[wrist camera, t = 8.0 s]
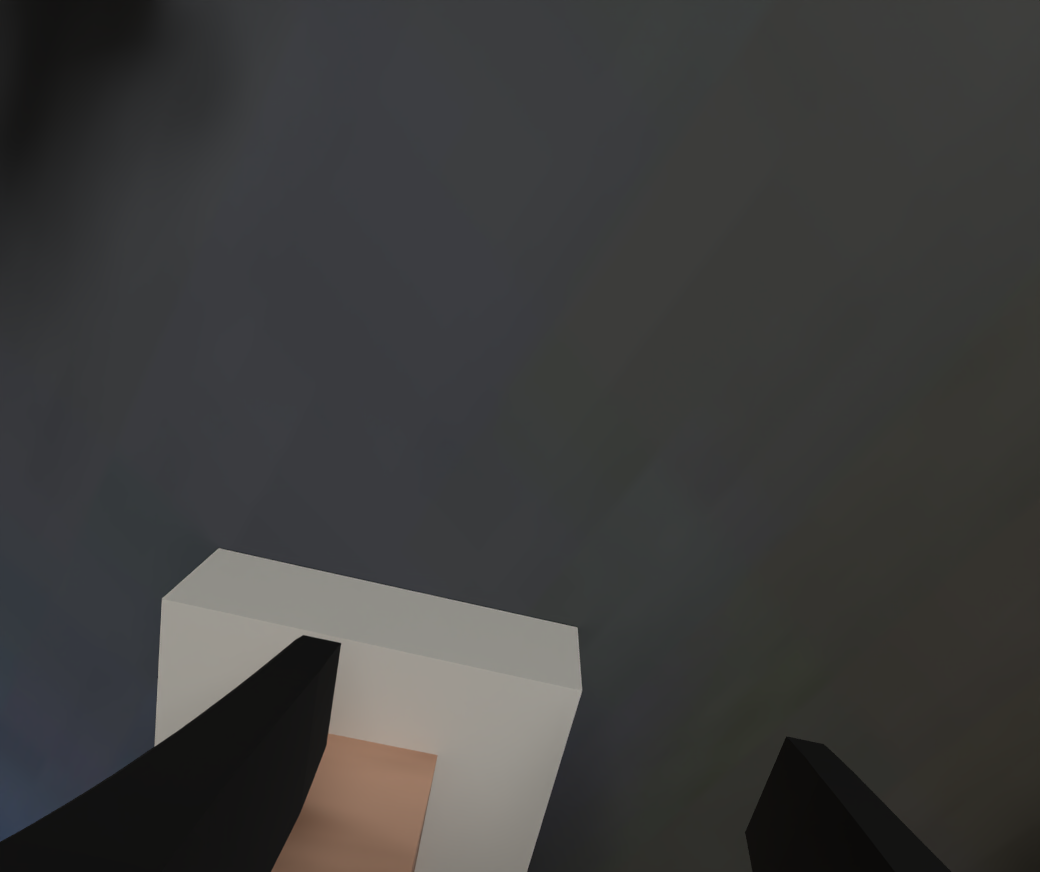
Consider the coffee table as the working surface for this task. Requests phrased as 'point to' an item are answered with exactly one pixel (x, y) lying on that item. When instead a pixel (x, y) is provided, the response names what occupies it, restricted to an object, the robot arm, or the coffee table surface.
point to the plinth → (394, 688)
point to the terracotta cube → (361, 810)
